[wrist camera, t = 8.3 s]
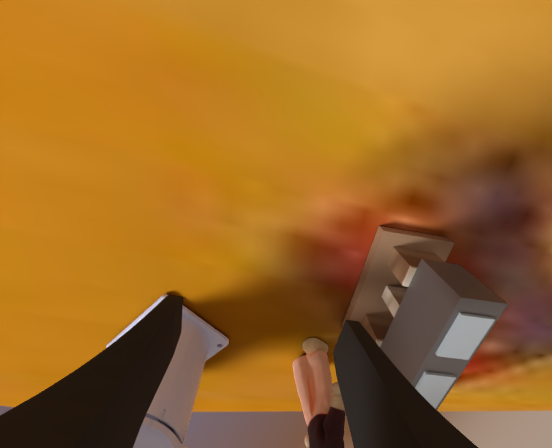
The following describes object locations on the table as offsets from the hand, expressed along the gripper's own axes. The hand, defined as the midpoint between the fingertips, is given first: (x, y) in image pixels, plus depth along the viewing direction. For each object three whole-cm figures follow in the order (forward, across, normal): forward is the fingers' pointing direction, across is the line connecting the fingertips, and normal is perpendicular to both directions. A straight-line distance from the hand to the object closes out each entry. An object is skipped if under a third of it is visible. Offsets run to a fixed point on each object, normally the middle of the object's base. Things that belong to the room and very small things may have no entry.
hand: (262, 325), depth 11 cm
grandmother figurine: (+10, -7, +14) cm, 19 cm away
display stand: (+10, -12, +4) cm, 16 cm away
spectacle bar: (+6, -12, +4) cm, 14 cm away
